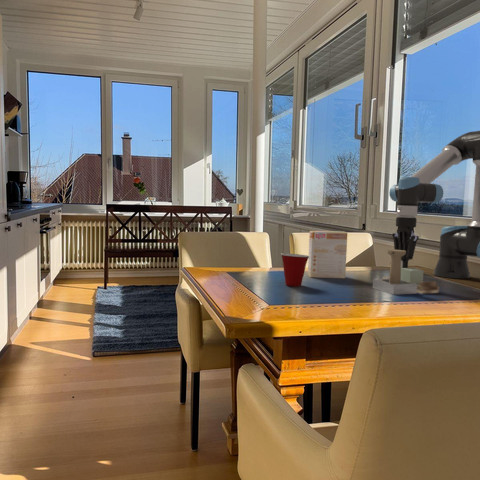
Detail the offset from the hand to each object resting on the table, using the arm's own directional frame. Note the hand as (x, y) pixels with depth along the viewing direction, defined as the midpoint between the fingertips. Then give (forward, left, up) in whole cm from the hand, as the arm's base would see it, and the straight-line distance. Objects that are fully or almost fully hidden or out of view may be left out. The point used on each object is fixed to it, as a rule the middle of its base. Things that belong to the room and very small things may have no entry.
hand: (402, 276), depth 177 cm
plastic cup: (+44, -7, -4) cm, 45 cm away
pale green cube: (0, +5, -2) cm, 5 cm away
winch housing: (+11, +9, -4) cm, 15 cm away
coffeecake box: (+21, -23, -4) cm, 31 cm away
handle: (+11, +9, -4) cm, 15 cm away
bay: (0, +4, -4) cm, 6 cm away
